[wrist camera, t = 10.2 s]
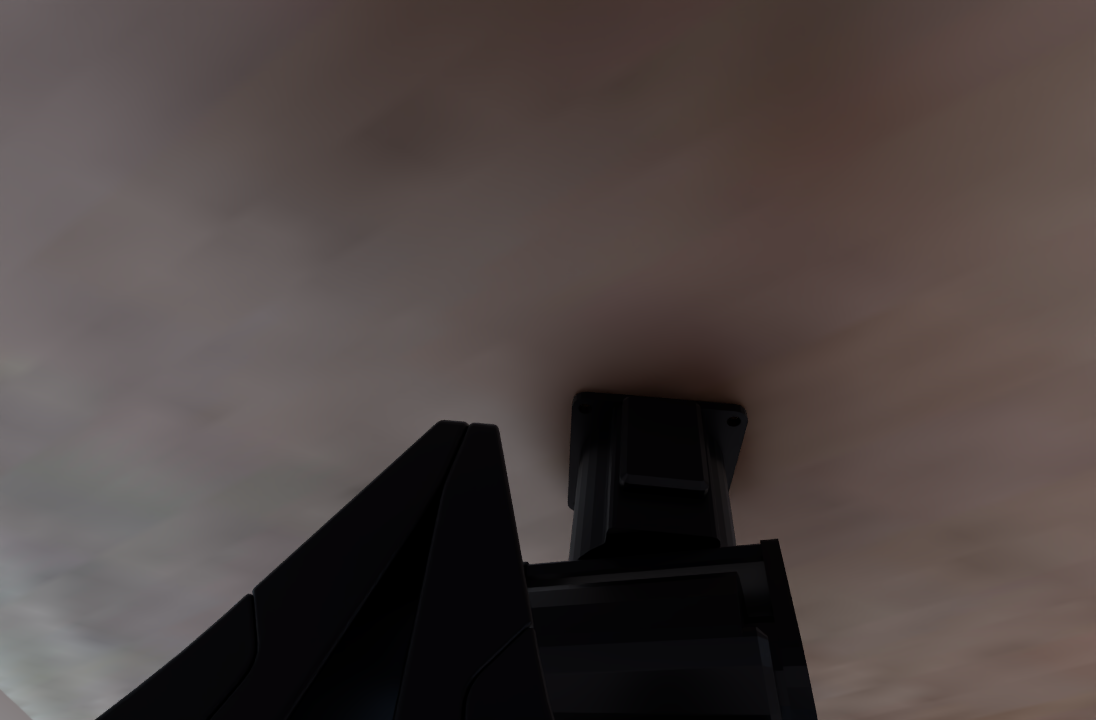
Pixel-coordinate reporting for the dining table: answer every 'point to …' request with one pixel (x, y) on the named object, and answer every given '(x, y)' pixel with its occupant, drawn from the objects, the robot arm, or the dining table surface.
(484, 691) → the robot arm
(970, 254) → the dining table surface
